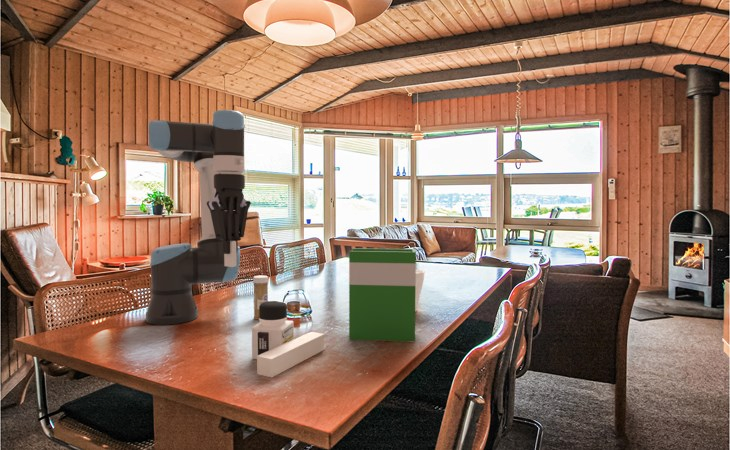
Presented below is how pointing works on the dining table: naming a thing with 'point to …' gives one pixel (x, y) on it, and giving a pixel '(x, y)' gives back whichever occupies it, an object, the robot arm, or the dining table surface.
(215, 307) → the dining table surface
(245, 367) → the dining table surface
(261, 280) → the sprinkles bottle
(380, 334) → the hardback book
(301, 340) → the white rectangular bar
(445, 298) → the dining table surface
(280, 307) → the container
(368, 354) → the dining table surface
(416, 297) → the cup
